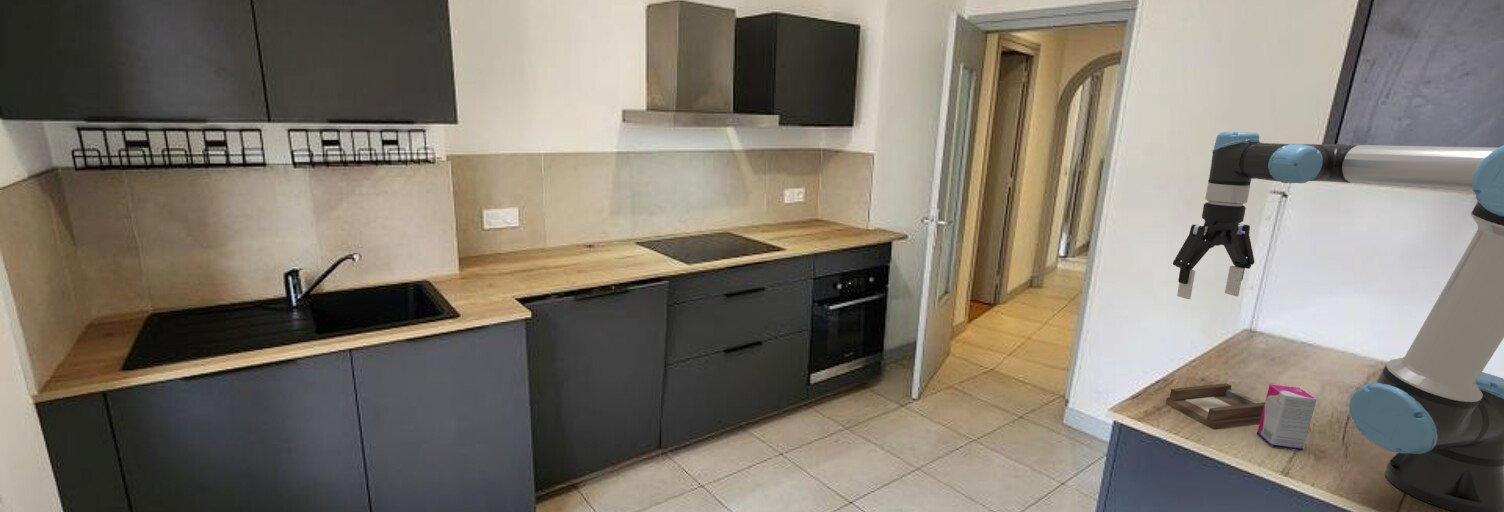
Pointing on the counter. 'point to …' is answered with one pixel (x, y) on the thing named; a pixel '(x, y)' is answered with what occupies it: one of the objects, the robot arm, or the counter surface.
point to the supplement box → (1286, 417)
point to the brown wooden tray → (1216, 406)
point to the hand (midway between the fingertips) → (1207, 296)
